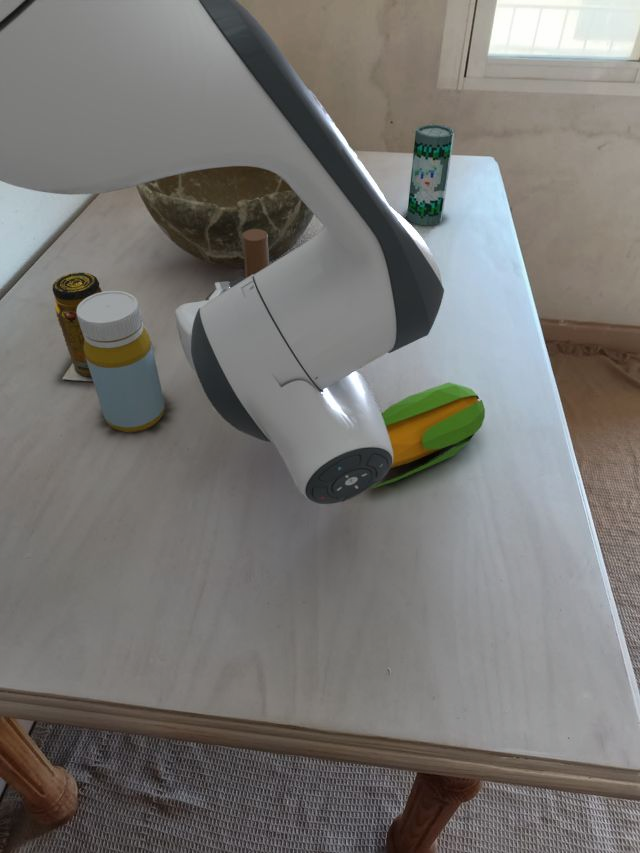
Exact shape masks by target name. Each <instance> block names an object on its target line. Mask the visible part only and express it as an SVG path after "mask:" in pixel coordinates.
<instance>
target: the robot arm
mask: <svg viewBox="0 0 640 853" xmlns="http://www.w3.org/2000/svg"><path fill="white" fill-rule="evenodd" d="M231 166H249V167H258V168H262V169H266V170H269V171H271V172H273V173H276V174H277V175H278V176H280V177H281V178H282V179H283V180H284V181H285V182H286V183H287V184H288V185H289V186H290V187H291V188H292V189H293V191H294V192H295V193H296V194H297V195H298V196H299V198H300V199H301V200H302V201H303V202H304V203H305V205H306V206H307V207H308V208H309V209H310V210H311V211H312V213H313V214H314V217H315V218H316V219H317V220H318V221H319V223H321V224H322V227H321V229H320V230H318V232H316V234H315V235H314V236H312V237H311V238H310V239H309V240H307V241H306V242H304V243H302V244H300V245H299V246H297V247H295V248H294V249H293V250H291V251H290V252H288V253H286V254H285V255H282V256H280V257H279V258H277V259H276V260H275V261H272V262H271V263H269V266H267V267H265V268H264V269H262V270H260V271H259V272H257V273H256V274H254V275H253V274H252V275H251V276H249V277H247V278H246V277H245V278H246V279H244V280H243V281H241V282H239V283H238V284H236V285H235V286H233V287H230V285H229V282H230V281H229V280H226V281H217V282H214V290H215V291H214V290H213V291H214V293H213V294H212V295H211V296H210V297H209V300H206V299H205V300H206V301H205V300H200V301H192V302H185V303H183V304H181V305H180V306H178V307H177V308H176V309H175V312H174V314H175V322H176V326H177V327H176V328H177V333H178V336H179V341H180V345H181V348H182V350H183V353H184V355H185V358H186V360H187V362H188V364H189V366H190V368H191V369H192V370H193V372H194V373H195V374H196V375H197V377H198V380H199V383H200V385H201V388H202V390H203V392H204V394H205V396H206V397H207V399H208V401H209V403H210V404H211V405H212V407H213V408H214V409H215V411H216V412H217V413H218V414H219V415H220V417H221V418H222V419H224V421H225V422H227V423H228V424H229V425H230V426H232V428H235V429H236V430H237V431H240V432H242V433H243V434H246V435H248V436H250V437H253V438H255V439H258V440H259V441H260V440H261V441H263V442H267V443H271V442H272V443H273V445H274V446H275V449H276V450H277V451H278V454H279V455H280V457H281V460H282V461H283V463H284V465H285V467H286V469H287V471H288V473H289V474H290V477H291V479H292V480H293V482H294V484H295V485H296V487H297V489H298V491H299V492H300V493H301V495H302V496H304V497H305V499H307V500H308V501H310V502H312V503H314V504H319V505H331V504H337V503H344V502H347V501H349V500H351V499H353V498H356V497H357V496H360V495H361V494H363V493H365V492H367V491H368V489H369V490H371V489H370V488H371V487H373V486H375V485H378V484H380V483H381V481H382V480H383V479H384V478H385V477H386V476H387V475H388V473H389V471H390V470H391V469H392V468H391V466H392V463H393V449H392V445H391V441H390V438H389V434H388V431H387V428H386V425H385V422H384V419H383V417H382V412H381V409H380V407H379V405H378V402H377V400H376V398H375V397H374V393H373V392H372V389H370V386H369V384H368V383H367V381H366V379H365V378H364V376H362V375H361V373H359V372H358V371H359V370H360V369H362V368H364V367H366V366H367V365H369V364H370V363H372V362H374V361H376V360H377V359H379V358H381V357H382V356H384V355H386V354H391V353H393V352H395V351H398V350H400V349H401V348H404V347H406V346H408V345H410V344H412V343H414V342H416V341H419V340H420V339H422V338H425V337H426V336H428V335H429V334H430V332H431V330H432V328H433V326H434V324H435V321H436V319H437V316H438V313H439V311H440V308H441V305H442V302H443V299H444V294H445V289H444V286H443V280H442V276H441V272H440V268H439V266H438V263H437V261H436V259H435V257H434V255H433V253H432V251H431V249H430V248H429V246H428V245H427V243H426V242H425V240H424V239H423V237H422V236H421V235H420V234H419V233H418V231H417V230H416V229H415V228H414V227H413V226H412V225H411V224H410V222H408V221H407V220H406V219H405V218H404V217H403V216H401V214H399V213H398V212H397V211H396V210H395V209H394V208H393V207H392V206H391V205H389V203H388V201H387V199H386V197H385V196H384V193H383V192H382V191H381V190H380V188H379V186H378V185H377V183H376V181H375V180H374V179H373V178H372V176H371V175H370V172H368V170H367V169H366V168H365V166H364V164H363V163H362V161H361V160H360V158H359V157H358V155H357V154H356V152H355V151H354V150H353V148H352V146H351V144H349V143H348V141H347V139H346V138H345V136H344V135H343V134H342V132H341V131H340V129H339V128H338V126H336V124H335V121H333V119H332V118H331V117H330V115H329V114H328V112H327V111H326V109H325V107H324V106H323V105H322V103H321V102H320V101H319V99H318V98H317V96H316V95H315V94H314V93H313V91H312V90H311V89H309V88H308V87H307V86H306V84H305V83H304V81H303V80H302V79H301V77H300V76H299V75H298V73H297V72H296V70H295V69H294V68H293V66H292V65H291V63H290V61H288V59H287V57H285V55H284V54H283V52H282V51H281V49H280V47H279V46H278V45H277V44H276V43H275V41H274V39H273V38H272V37H271V36H270V34H269V33H268V32H267V31H266V29H265V28H264V27H263V26H262V25H261V23H260V22H259V21H258V20H257V19H256V18H255V17H254V16H253V15H252V14H251V13H250V12H249V10H247V9H246V8H245V7H244V6H243V5H242V4H241V3H239V1H238V0H0V182H2V183H6V184H8V185H11V186H14V187H18V188H22V189H25V190H29V191H34V192H35V191H36V192H38V193H39V192H41V193H48V194H56V195H69V196H70V195H72V196H75V195H77V196H78V195H99V194H107V193H111V192H117V191H122V190H126V189H129V188H130V189H131V188H133V187H136V186H137V185H140V184H143V183H147V182H150V181H154V180H158V179H161V178H165V177H169V176H173V175H178V174H182V173H187V172H192V171H198V170H204V169H211V168H220V167H231Z"/></svg>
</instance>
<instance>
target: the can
mask: <svg viewBox="0 0 640 853" xmlns="http://www.w3.org/2000/svg"><path fill="white" fill-rule="evenodd" d="M414 135H415V136H414V143H413V144H414V145H413V153H412V164H411V172H410V173H411V174H410V181H409V190H408V191H409V192H408V201H407V210H406V211H407V212H406V218H407V220H408V221H409V222H411V223H412V224H415V225H418V226H424V227H425V226H426V227H427V226H435V225H438V224H440V223H441V222H442V220H443V215H444V207H445V201H446V194H447V186H448V179H449V172H450V165H451V158H452V152H453V144H454V137H455V130H454V128H451V127H450V126H445V125H442V124H434V123H433V124H424V125H420V126H417V128H416V130H415V134H414Z"/></svg>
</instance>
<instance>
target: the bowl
mask: <svg viewBox="0 0 640 853" xmlns="http://www.w3.org/2000/svg"><path fill="white" fill-rule="evenodd" d="M135 187H136V191H137V192H138V194H139V196H140V199H141V200H142V202H143V204H144V205H145V208H146V210H147V211H148V213H149V214H150V216H151V218H152V219H153V221H154V222H155V223H156V225H157V226H158V227H159V228H160V230H161V231H162V232H163V233H164V235H165V236H167V238H169V239H170V240H171V242H173V243H174V244H175V245H176V246H178V247H179V248H180V249H181V250H182V251H184V252H186V253H188V254H190V256H192V257H195V258H196V259H199V260H200V261H203V262H208V263H210V264H214V265H218V266H222V267H223V266H224V267H231V268H245V262H244V250H243V238H242V234H243V233H244V232H245V231H247V230H251V229H261V230H264V231H266V232H267V234H268V250H269V263H270V262H273V261H274V260H275V261H276V260H278V259H279V258H281V257H282V256H284V254H285V253H287V252H288V251H289V250H290V249H292V248H293V246H295V244H296V243H297V242H298V241H299V240H300V239H301V237H302V236H303V235H304V233H305V232H306V230H307V228H308V226H310V223H311V222H312V220H313V218H314V217H315V215H314V214H313V213H312V211H311V210H310V209H309V208H308V207H307V206H306V205H305V203H304V202H303V201H302V200H301V199H300V198H299V196H298V195H297V194H296V193H295V192H294V191H293V189H292V188H291V187H290V186H289V185H288V184H287V183H286V182H285V181H284V180H283V179H282V178H281V177H280V176H278V175H277V174H276V173H273V172H271V171H269V170H266V169H262V168H258V167H249V166H231V167H220V168H211V169H204V170H198V171H192V172H187V173H182V174H178V175H173V176H169V177H165V178H161V179H158V180H154V181H150V182H147V183H143V184H140V185H137V186H135Z"/></svg>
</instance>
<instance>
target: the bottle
mask: <svg viewBox="0 0 640 853" xmlns="http://www.w3.org/2000/svg"><path fill="white" fill-rule="evenodd" d="M76 313H77V317H78V320H79V324H80V327H81V330H82V333H83V336H84V347H83V349H84V353H85V357H86V361H87V364H88V367H89V370H90V373H91V376H92V380H93V381H92V382H93V386H94V389H95V392H96V395H97V399H98V402H99V406H100V408H101V411H102V414H103V417H104V420H105V423H106V424H107V425H108V426H109V427H111V428H113V429H115V430H116V431H120V432H124V433H138V432H142V431H145V430H147V429H150V428H152V427H153V426H155V425H156V423H158V422H159V421H160V420H161V418H162V417H163V415H164V414H165V412H166V404H165V399H164V394H163V390H162V385H161V380H160V376H159V371H158V367H157V363H156V358H155V354H154V349H153V348H154V347H153V344H152V341H151V336H150V334H149V332H148V331H147V330H146V329H145V327H144V324H143V317H142V314H141V309H140V304H139V301H138V299H137V298H136V296H134V294H131V293H130V292H127V291H122V290H106V291H105V290H104V291H102V292H100V293H96V294H94V295H91V296H89V297H87V298H85V299H84V300H83V301H81V302H80V304H79V305H78V307H77V312H76Z"/></svg>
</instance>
